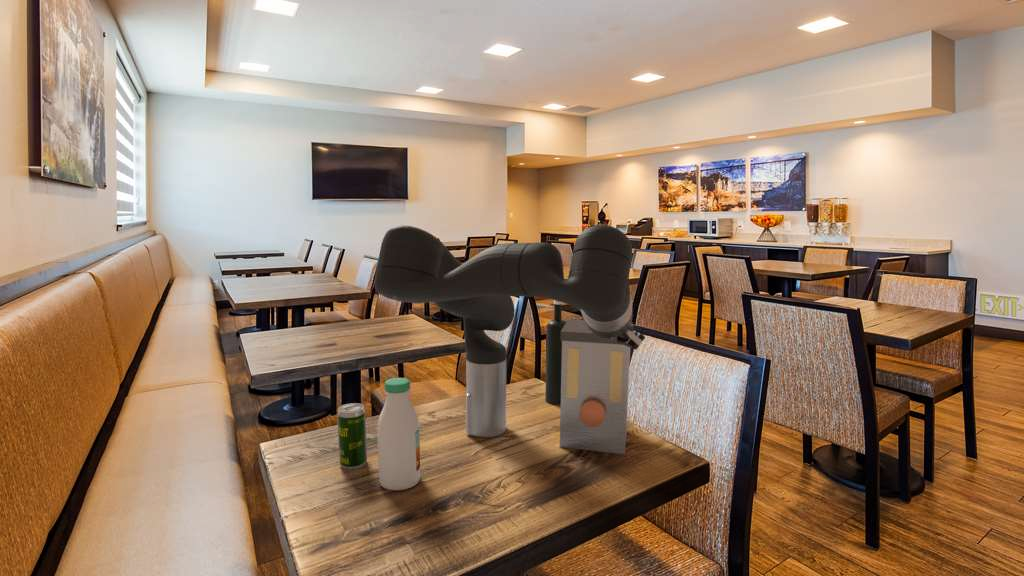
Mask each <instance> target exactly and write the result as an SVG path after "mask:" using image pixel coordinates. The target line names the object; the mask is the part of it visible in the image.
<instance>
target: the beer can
mask: <svg viewBox="0 0 1024 576" xmlns="http://www.w3.org/2000/svg"><path fill="white" fill-rule="evenodd" d="M337 410H338V411H337V417H336V418H337V436H338V437H337V438H338V452H339V453H338V456H339V457H338V459H339V460H338V461H339V464H340V467H341V468H343V469H344V470H349V471H350V470H357V469H359V468H362V467H364V466H365V465H366V463H367V460H368V450H367V449H368V448H367V424H366V423H367V422H366V409H365V406H364V405H363V403H357V402H356V403H355V402H353V403H352V402H351V403H345V404H342V405H340V406H339V407H338V409H337Z"/></svg>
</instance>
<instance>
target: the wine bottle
mask: <svg viewBox="0 0 1024 576" xmlns="http://www.w3.org/2000/svg"><path fill="white" fill-rule="evenodd" d="M553 304H554V306H553V319H552V320H549V321H548V323H546V343H545V345H546V346H545V347H546V349H545V399H544V400H545V402H546V403H548V404H550V405H561V367H562V341H560V340H561V330H562V329H563V327H564V325H565V324H566V322H567V321H566V320H564V319H562V316H563V315H562V313H563V311H562V310H563V309H562V308H563V302H559V301H556V300H553Z"/></svg>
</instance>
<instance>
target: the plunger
mask: <svg viewBox="0 0 1024 576" xmlns="http://www.w3.org/2000/svg"><path fill="white" fill-rule="evenodd" d="M579 415H580V419H581V421H582V422H583V423H584V424H585V425H587V426H589V427H597V426H599V425H601V424H602V422H603V421H604V417H605V409H604V407H603V405H602V404H601V403H600V402H598V401H596V400H588V401H586V402H585V403H583V405H582V406H581V409H580V414H579Z"/></svg>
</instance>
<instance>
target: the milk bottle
mask: <svg viewBox="0 0 1024 576" xmlns="http://www.w3.org/2000/svg"><path fill="white" fill-rule="evenodd" d="M410 389H411V381H410V380H409V378H405V377H393V378H389V379H387V380H386V381H384V394H385V395H386V396H385V402H384V404H383V407H382V410H381V412H380V414H379V418H378V422H377V455H378V456H377V457H378V458H377V459H378V460H377V461H378V481H379V482H378V483H379V484H380V486H381V487H382V488H383V489H385V490H389V491H397V492H398V491H404V490H408V489H411V488H413V487H415V486H416V485H417V484H418V483H419V481H420V479H421V449H420V448H421V447H420V445H421V444H420V441H421V439H420V426H419V425H420V424H419V423H420V422H419V419H418V415H417V412H416V410H415V407H414V405H413V403H412V401H411V399H410V393H411V390H410Z"/></svg>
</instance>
